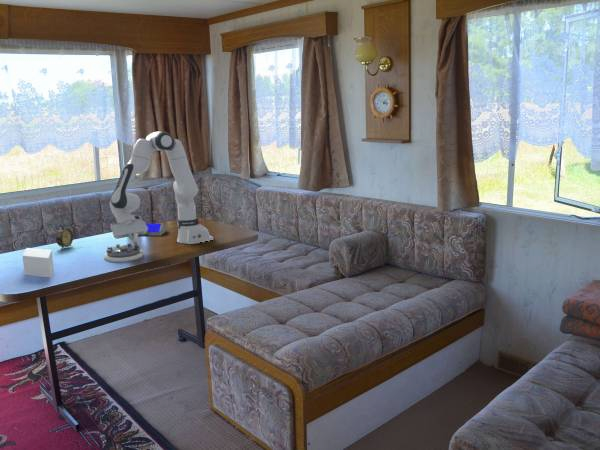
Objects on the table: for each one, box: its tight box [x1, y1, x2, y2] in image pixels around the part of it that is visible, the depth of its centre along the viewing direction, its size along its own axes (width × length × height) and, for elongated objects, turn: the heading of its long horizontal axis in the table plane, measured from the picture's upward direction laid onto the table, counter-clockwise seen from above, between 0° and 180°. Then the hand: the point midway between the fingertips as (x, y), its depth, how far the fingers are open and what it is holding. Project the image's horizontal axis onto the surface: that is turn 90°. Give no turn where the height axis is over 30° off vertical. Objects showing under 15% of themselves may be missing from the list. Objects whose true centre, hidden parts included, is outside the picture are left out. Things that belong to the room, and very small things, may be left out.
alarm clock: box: [55, 221, 74, 251], centre depth 325 cm, size 11×5×16 cm, turn 168°
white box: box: [21, 247, 54, 278], centre depth 281 cm, size 14×29×10 cm, turn 46°
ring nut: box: [106, 233, 141, 257], centre depth 305 cm, size 18×18×11 cm
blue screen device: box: [138, 222, 167, 237], centre depth 361 cm, size 22×14×7 cm, turn 86°
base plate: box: [103, 244, 144, 263], centre depth 306 cm, size 21×21×6 cm
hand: (135, 241), depth 309 cm, fingers closed
